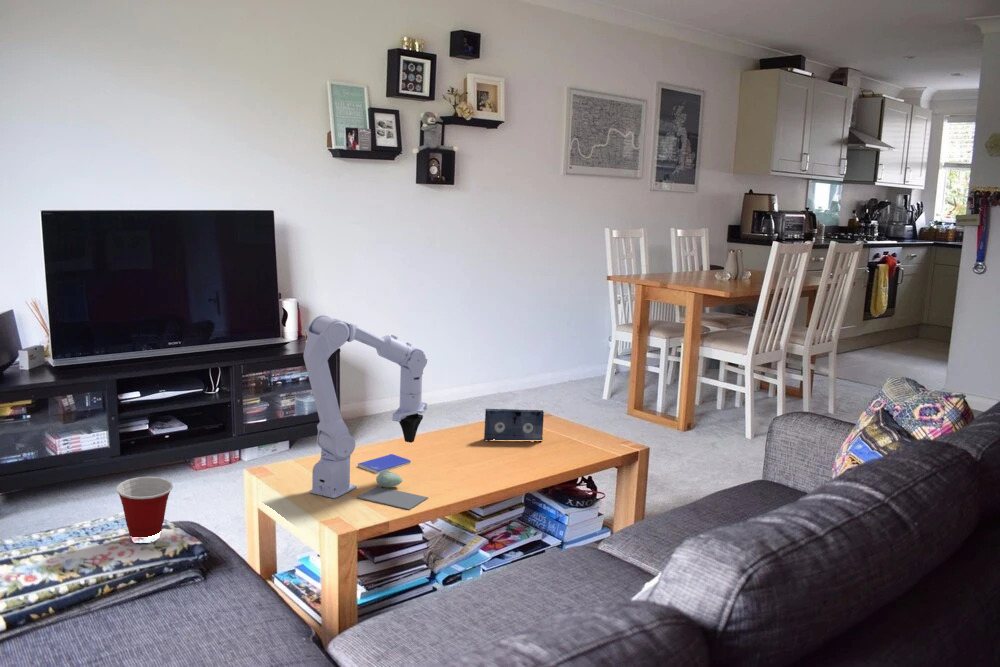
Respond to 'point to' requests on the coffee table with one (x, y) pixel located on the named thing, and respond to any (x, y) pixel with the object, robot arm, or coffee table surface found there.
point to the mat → (393, 497)
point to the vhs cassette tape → (513, 424)
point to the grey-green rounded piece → (388, 479)
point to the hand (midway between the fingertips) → (409, 441)
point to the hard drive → (384, 463)
